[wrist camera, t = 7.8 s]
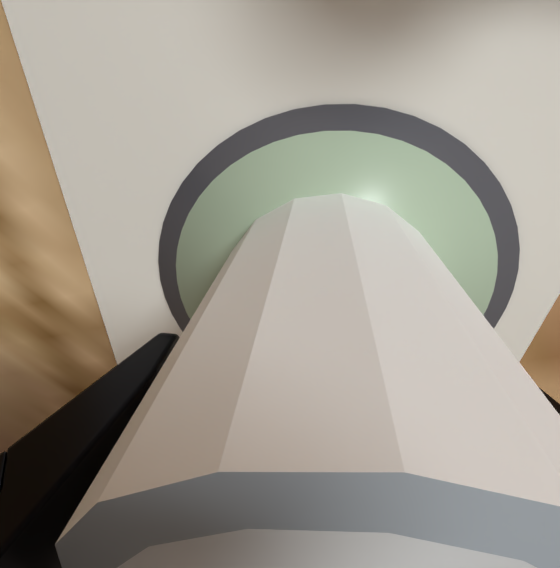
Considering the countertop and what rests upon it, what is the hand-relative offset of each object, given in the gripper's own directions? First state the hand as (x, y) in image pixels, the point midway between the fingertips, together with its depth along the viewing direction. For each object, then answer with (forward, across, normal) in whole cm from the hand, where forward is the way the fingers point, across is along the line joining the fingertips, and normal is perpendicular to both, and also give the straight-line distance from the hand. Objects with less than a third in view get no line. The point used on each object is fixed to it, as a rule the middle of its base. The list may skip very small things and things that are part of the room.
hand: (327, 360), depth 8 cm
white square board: (+3, 0, -1) cm, 3 cm away
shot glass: (+3, 0, 0) cm, 3 cm away
